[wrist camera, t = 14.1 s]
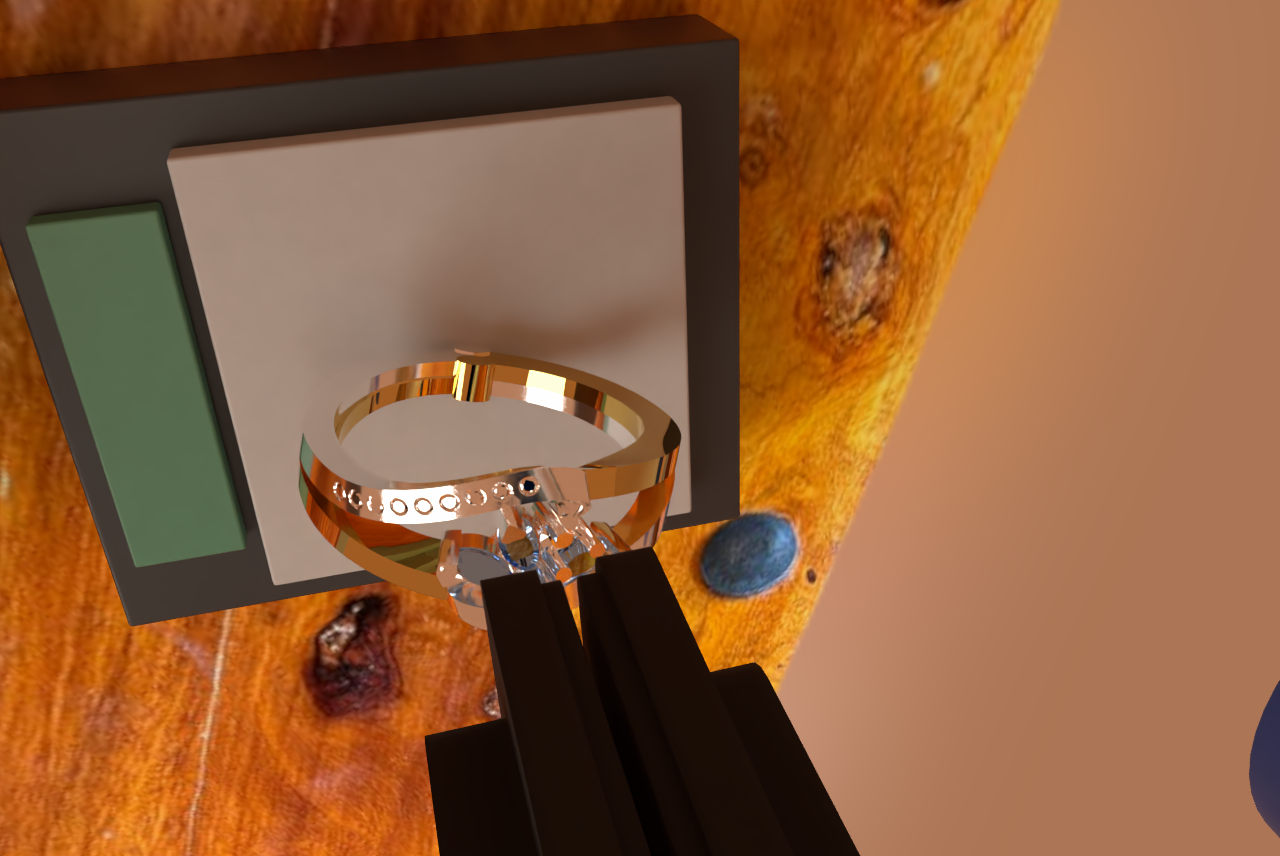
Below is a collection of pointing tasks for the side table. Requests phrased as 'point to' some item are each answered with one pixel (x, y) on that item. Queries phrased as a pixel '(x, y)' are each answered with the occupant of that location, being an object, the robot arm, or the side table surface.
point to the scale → (369, 276)
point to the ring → (484, 478)
